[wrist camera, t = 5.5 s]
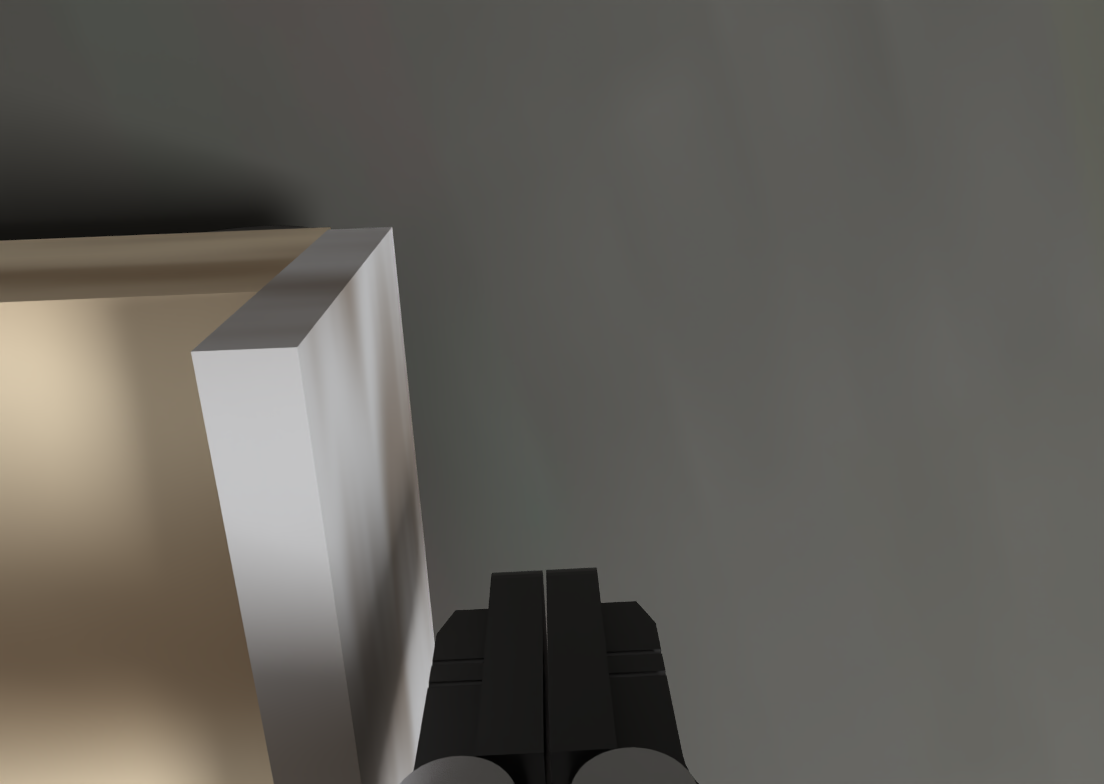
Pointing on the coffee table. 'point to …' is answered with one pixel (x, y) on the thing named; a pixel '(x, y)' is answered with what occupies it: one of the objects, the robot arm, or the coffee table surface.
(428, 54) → the coffee table surface
